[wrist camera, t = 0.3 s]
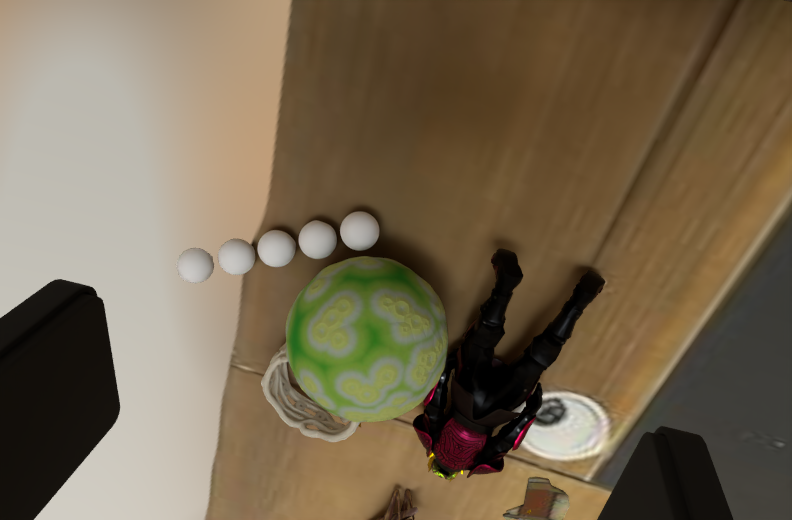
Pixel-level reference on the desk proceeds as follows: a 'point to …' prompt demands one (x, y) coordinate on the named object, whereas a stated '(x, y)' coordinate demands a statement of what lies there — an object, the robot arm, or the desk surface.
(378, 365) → the decorative ball
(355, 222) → the spheres
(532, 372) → the action figure
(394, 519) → the insect
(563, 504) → the sword
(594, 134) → the desk surface
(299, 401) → the bracelet
